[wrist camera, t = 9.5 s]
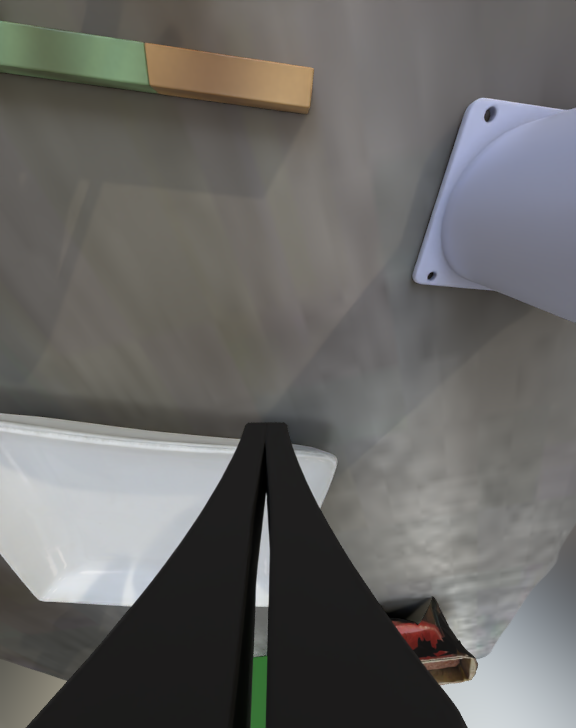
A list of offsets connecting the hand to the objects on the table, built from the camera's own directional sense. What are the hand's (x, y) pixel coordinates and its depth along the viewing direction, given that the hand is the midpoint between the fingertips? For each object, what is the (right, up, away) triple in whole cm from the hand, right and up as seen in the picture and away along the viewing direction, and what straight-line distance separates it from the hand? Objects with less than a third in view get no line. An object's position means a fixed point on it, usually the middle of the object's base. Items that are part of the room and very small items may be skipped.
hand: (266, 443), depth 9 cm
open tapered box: (+19, -39, +36) cm, 56 cm away
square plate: (-11, -12, +18) cm, 24 cm away
